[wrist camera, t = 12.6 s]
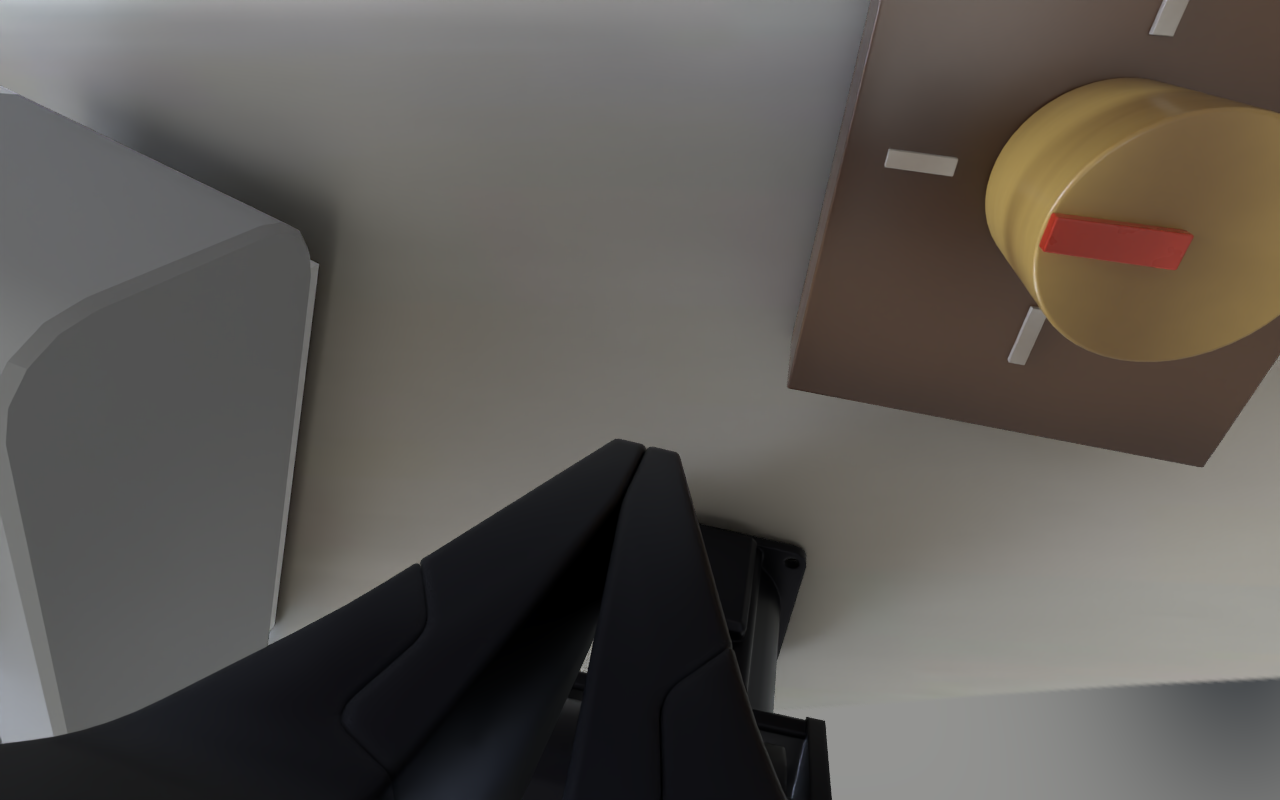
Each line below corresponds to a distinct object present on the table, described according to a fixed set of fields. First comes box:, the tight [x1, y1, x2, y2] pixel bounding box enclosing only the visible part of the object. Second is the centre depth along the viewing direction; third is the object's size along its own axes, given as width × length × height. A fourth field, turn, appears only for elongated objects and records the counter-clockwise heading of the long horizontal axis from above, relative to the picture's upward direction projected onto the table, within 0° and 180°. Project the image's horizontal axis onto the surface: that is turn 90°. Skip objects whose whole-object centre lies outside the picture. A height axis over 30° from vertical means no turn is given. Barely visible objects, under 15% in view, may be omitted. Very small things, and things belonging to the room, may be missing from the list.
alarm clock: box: [0, 86, 319, 744], centre depth 24 cm, size 27×9×12 cm, turn 158°
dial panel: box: [787, 0, 1280, 467], centre depth 15 cm, size 12×10×3 cm
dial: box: [985, 78, 1280, 362], centre depth 12 cm, size 4×4×4 cm
